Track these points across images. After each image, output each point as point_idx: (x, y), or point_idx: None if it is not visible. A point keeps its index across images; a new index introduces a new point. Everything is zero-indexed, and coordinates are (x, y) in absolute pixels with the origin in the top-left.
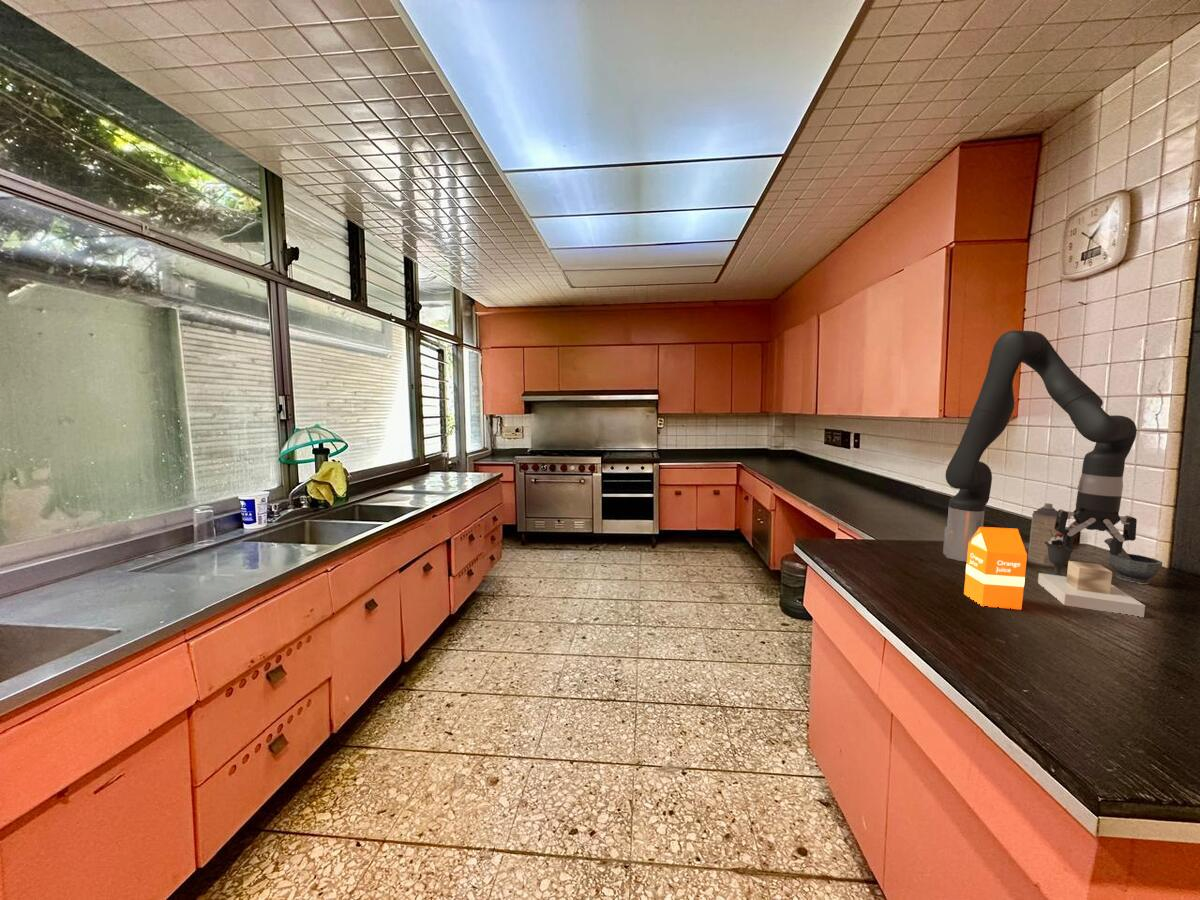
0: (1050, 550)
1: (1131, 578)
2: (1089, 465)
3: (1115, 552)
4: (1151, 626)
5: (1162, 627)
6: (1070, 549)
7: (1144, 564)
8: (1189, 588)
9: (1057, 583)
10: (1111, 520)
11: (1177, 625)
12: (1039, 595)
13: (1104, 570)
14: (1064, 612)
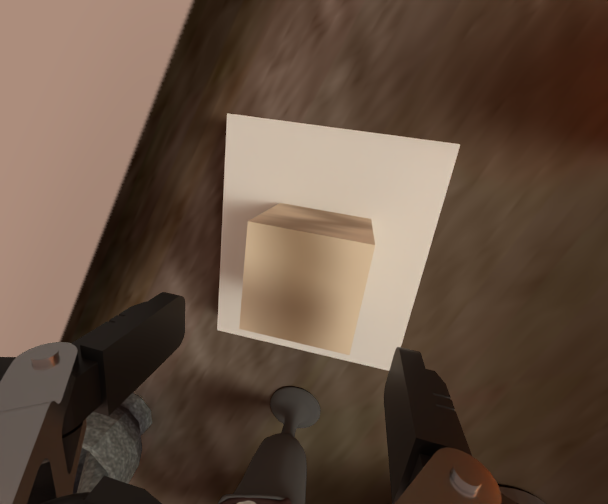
0: (303, 499)
1: (129, 405)
2: None
3: (167, 300)
4: (267, 32)
5: (238, 39)
6: (403, 350)
7: None
8: None
9: (401, 272)
10: None
11: (186, 83)
12: (472, 226)
13: (270, 237)
14: (505, 53)
